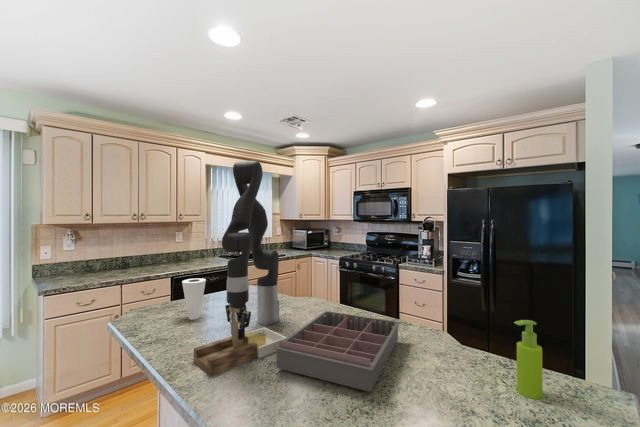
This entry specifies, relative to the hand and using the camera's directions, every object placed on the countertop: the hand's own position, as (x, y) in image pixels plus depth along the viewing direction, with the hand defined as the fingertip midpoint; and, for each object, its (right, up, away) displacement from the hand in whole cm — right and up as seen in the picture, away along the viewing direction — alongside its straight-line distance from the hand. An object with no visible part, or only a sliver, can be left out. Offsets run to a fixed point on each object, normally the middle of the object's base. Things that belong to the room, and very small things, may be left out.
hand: (237, 336), depth 107 cm
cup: (-31, -7, +38) cm, 50 cm away
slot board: (-3, -6, -3) cm, 8 cm away
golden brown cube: (+6, -6, +6) cm, 10 cm away
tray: (+7, -6, +7) cm, 12 cm away
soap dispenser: (+87, -7, -23) cm, 90 cm away
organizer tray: (+37, -7, -1) cm, 38 cm away
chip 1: (+3, -5, +3) cm, 6 cm away
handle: (0, -4, 0) cm, 4 cm away
